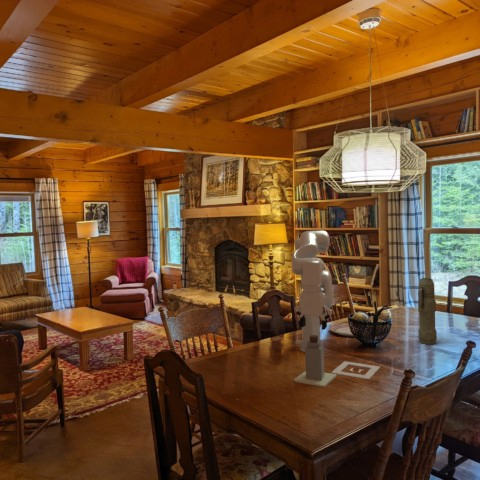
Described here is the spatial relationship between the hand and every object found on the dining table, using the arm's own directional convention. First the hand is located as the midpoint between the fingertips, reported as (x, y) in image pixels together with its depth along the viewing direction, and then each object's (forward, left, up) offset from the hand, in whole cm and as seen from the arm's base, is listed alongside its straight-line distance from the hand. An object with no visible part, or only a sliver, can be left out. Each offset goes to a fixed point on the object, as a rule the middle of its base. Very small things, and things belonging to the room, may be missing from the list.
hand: (313, 327), depth 189 cm
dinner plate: (-11, +79, -23) cm, 83 cm away
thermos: (+32, +75, -23) cm, 85 cm away
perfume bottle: (0, 0, -22) cm, 22 cm away
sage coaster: (0, -1, -22) cm, 22 cm away
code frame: (+12, +17, -22) cm, 31 cm away
